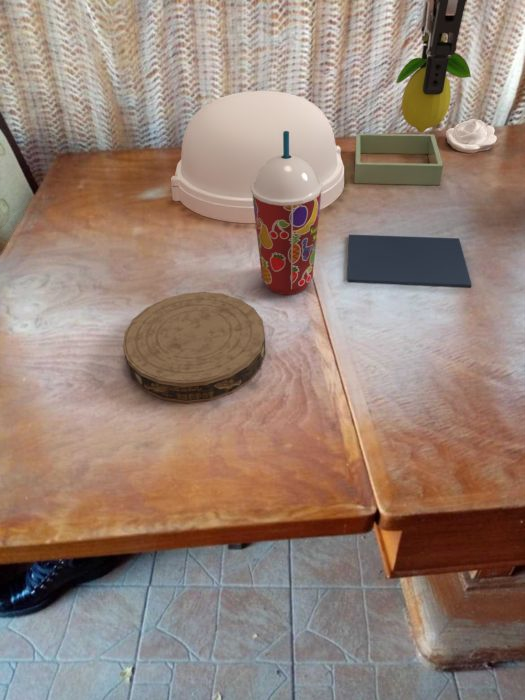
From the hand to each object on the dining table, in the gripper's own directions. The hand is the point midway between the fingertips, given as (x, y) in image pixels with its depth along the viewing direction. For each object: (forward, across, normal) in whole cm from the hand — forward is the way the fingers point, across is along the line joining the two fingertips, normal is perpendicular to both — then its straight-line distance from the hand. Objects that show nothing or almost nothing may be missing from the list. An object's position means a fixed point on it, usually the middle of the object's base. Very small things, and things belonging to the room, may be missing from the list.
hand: (430, 85), depth 63 cm
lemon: (+6, 0, 0) cm, 6 cm away
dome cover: (+22, +21, +24) cm, 39 cm away
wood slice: (+22, -25, +25) cm, 42 cm away
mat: (+22, -3, 0) cm, 22 cm away
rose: (+22, +41, -15) cm, 49 cm away
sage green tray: (+22, +29, 0) cm, 36 cm away
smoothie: (+22, -10, +16) cm, 29 cm away
